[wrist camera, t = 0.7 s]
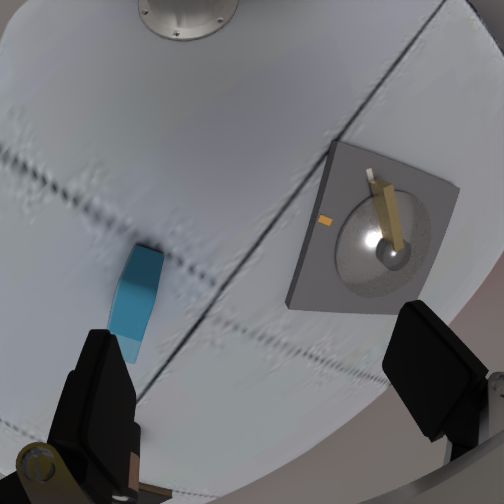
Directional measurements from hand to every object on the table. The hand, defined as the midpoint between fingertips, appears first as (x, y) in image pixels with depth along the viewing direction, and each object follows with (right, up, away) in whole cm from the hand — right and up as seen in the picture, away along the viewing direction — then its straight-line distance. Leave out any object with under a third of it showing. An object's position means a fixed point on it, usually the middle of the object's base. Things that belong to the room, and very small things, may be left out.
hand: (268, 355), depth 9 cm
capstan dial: (+20, +5, +35) cm, 41 cm away
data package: (-17, -1, +34) cm, 38 cm away
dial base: (+20, +5, +38) cm, 43 cm away
